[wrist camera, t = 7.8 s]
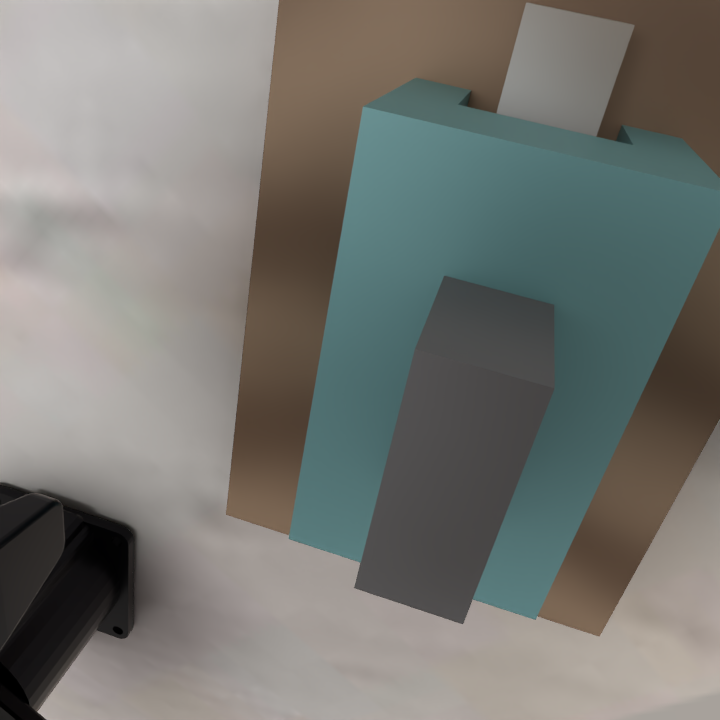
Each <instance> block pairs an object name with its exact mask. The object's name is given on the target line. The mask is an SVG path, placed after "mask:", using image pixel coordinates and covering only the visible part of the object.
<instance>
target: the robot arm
mask: <svg viewBox="0 0 720 720" xmlns="http://www.w3.org/2000/svg"><path fill="white" fill-rule="evenodd" d="M133 584H134V537H133V534H132V533H131V531H130V530H129V529H127V528H126V527H124V526H121V525H118V524H115V523H112V522H109V521H106V520H103V519H100V518H97V517H94V516H91V515H88V514H85V513H82V512H80V511H77V510H74V509H71V508H68V507H65V506H63V505H62V504H61V502H60V501H59V500H57V499H54V498H51V497H48V496H46V495H43V494H39V493H30V494H26V493H23V492H20V491H17V490H14V489H11V488H8V487H5V486H2V485H0V720H46V719H45V718H44V717H42V716H41V715H40V714H39V713H38V712H37V711H38V710H39V709H40V707H41V706H42V704H43V703H44V702H45V700H46V699H47V698H48V696H49V695H50V693H51V692H52V691H53V689H54V688H55V687H56V685H57V684H58V682H59V681H60V680H61V678H62V677H63V676H64V674H65V673H66V671H67V670H68V669H69V667H70V666H71V665H72V663H73V662H74V660H75V659H76V658H77V656H78V655H79V654H80V652H81V651H82V649H83V648H84V647H85V645H86V644H87V643H88V641H89V640H90V638H91V637H92V636H93V634H94V633H95V632H96V630H98V631H101V632H103V633H106V634H109V635H112V636H114V637H117V638H121V639H123V638H126V637H128V635H129V634H130V632H131V631H132V629H133Z"/></svg>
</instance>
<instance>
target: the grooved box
mask: <svg viewBox="0 0 720 720" xmlns="http://www.w3.org/2000/svg"><path fill="white" fill-rule="evenodd" d="M470 93H471V90H468V89H463V88H459V87H455V86H450V85H446V84H442V83H437V82H433V81H428V80H424V79H420V78H414V79H412V80H411V81H409V82H407V83H405V84H403V85H401V86H400V87H398V88H396V89H394V90H392V91H390V92H389V93H387V94H385V95H383V96H381V97H379V98H378V99H376V100H374V101H372V102H370V103H368V104H367V105H365V106H363V109H362V115H361V121H360V127H359V133H358V139H357V144H356V150H355V156H354V162H353V168H352V173H351V179H350V185H349V191H348V197H347V202H346V208H345V214H344V220H343V226H342V231H341V237H340V243H339V249H338V255H337V260H336V266H335V272H334V278H333V284H332V289H331V295H330V301H329V307H328V313H327V319H326V324H325V330H324V336H323V342H322V348H321V353H320V359H319V365H318V371H317V377H316V382H315V388H314V394H313V400H312V406H311V411H310V417H309V423H308V429H307V435H306V440H305V446H304V452H303V458H302V464H301V469H300V475H299V481H298V487H297V493H296V499H295V504H294V510H293V516H292V522H291V528H290V533H289V539H291V540H294V541H297V542H300V543H303V544H306V545H309V546H312V547H315V548H318V549H321V550H324V551H327V552H330V553H333V554H336V555H339V556H342V557H345V558H348V559H352V560H355V561H358V562H361V563H360V567H359V571H358V575H357V579H356V583H355V587H354V588H356V589H359V590H362V591H365V592H368V593H371V594H374V595H377V596H380V597H383V598H386V599H389V600H392V601H395V602H398V603H401V604H404V605H407V606H410V607H413V608H416V609H419V610H422V611H425V612H428V613H431V614H434V615H437V616H440V617H443V618H446V619H449V620H452V621H455V622H458V623H461V624H463V623H464V620H465V618H466V615H467V612H468V610H469V607H470V605H471V602H472V600H473V599H474V600H477V601H480V602H483V603H486V604H489V605H492V606H495V607H498V608H501V609H504V610H507V611H510V612H513V613H516V614H519V615H522V616H525V617H528V618H531V619H535V620H536V618H537V616H538V614H539V611H540V609H541V607H542V605H543V603H544V601H545V599H546V596H547V594H548V592H549V590H550V588H551V586H552V584H553V582H554V579H555V577H556V575H557V573H558V571H559V569H560V567H561V565H562V562H563V560H564V558H565V556H566V554H567V552H568V550H569V548H570V545H571V543H572V541H573V539H574V537H575V535H576V533H577V531H578V528H579V526H580V524H581V522H582V520H583V518H584V516H585V513H586V511H587V509H588V507H589V505H590V503H591V501H592V499H593V496H594V494H595V492H596V490H597V488H598V486H599V484H600V482H601V479H602V477H603V475H604V473H605V471H606V469H607V467H608V465H609V462H610V460H611V458H612V456H613V454H614V452H615V450H616V448H617V445H618V443H619V441H620V439H621V437H622V435H623V433H624V431H625V428H626V426H627V424H628V422H629V420H630V418H631V416H632V413H633V411H634V409H635V407H636V405H637V403H638V401H639V399H640V396H641V394H642V392H643V390H644V388H645V386H646V384H647V382H648V379H649V377H650V375H651V373H652V371H653V369H654V367H655V365H656V362H657V360H658V358H659V356H660V354H661V352H662V350H663V348H664V345H665V343H666V341H667V339H668V337H669V335H670V333H671V330H672V328H673V326H674V324H675V322H676V320H677V318H678V316H679V313H680V311H681V309H682V307H683V305H684V303H685V301H686V299H687V296H688V294H689V292H690V290H691V288H692V286H693V284H694V282H695V279H696V277H697V275H698V273H699V271H700V269H701V267H702V265H703V262H704V260H705V258H706V256H707V254H708V252H709V250H710V248H711V245H712V243H713V241H714V239H715V237H716V235H717V233H718V230H719V228H720V178H719V177H718V176H717V175H716V174H715V173H714V172H713V171H712V169H711V168H710V167H709V166H708V165H707V164H706V163H705V162H704V161H703V160H702V159H701V158H700V157H699V156H698V155H697V154H696V153H695V152H694V151H693V150H692V148H691V147H690V146H689V145H688V144H687V143H686V142H685V141H684V140H683V139H682V138H678V137H674V136H669V135H665V134H660V133H656V132H652V131H647V130H643V129H639V128H634V127H630V126H625V125H622V126H621V129H620V131H619V134H618V137H617V140H616V141H613V140H608V139H604V138H600V137H596V136H591V135H587V134H583V133H578V132H574V131H570V130H565V129H561V128H557V127H552V126H548V125H544V124H539V123H535V122H531V121H527V120H522V119H518V118H514V117H509V116H505V115H501V114H496V113H492V112H488V111H483V110H479V109H475V108H470V107H467V105H468V101H469V97H470Z"/></svg>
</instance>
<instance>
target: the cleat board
mask: <svg viewBox="0 0 720 720" xmlns="http://www.w3.org/2000/svg"><path fill="white" fill-rule="evenodd" d="M414 78H420V79H424V80H428V81H433V82H437V83H442V84H446V85H450V86H455V87H459V88H463V89H468V90H471V93H470V97H469V101H468V105H467V107H470V108H475V109H479V110H483V111H488V112H492V113H496V114H501V115H505V116H509V117H514V118H518V119H522V120H527V121H531V122H535V123H539V124H544V125H548V126H552V127H557V128H561V129H565V130H570V131H574V132H578V133H583V134H587V135H591V136H596V137H600V138H604V139H608V140H613V141H616V140H617V137H618V134H619V131H620V129H621V126H622V125H625V126H630V127H634V128H639V129H643V130H647V131H652V132H656V133H660V134H665V135H669V136H674V137H678V138H682V139H683V140H684V141H685V142H686V143H687V144H688V145H689V146H690V147H691V148H692V150H693V151H694V152H695V153H696V154H697V155H698V156H699V157H700V158H701V159H702V160H703V161H704V162H705V163H706V164H707V165H708V166H709V167H710V168H711V169H712V171H713V172H714V173H715V174H716V175H717V176H718V177H719V178H720V0H279V7H278V17H277V26H276V36H275V46H274V55H273V65H272V75H271V84H270V94H269V104H268V113H267V123H266V133H265V142H264V152H263V162H262V171H261V181H260V191H259V200H258V210H257V220H256V229H255V239H254V249H253V258H252V268H251V278H250V287H249V297H248V307H247V317H246V326H245V336H244V346H243V355H242V365H241V375H240V384H239V394H238V404H237V413H236V423H235V433H234V442H233V452H232V462H231V471H230V481H229V491H228V500H227V510H226V515H229V516H232V517H235V518H238V519H241V520H244V521H247V522H250V523H253V524H256V525H260V526H263V527H266V528H269V529H272V530H275V531H278V532H281V533H284V534H287V535H289V533H290V528H291V522H292V516H293V510H294V504H295V499H296V493H297V487H298V481H299V475H300V469H301V464H302V458H303V452H304V446H305V440H306V435H307V429H308V423H309V417H310V411H311V406H312V400H313V394H314V388H315V382H316V377H317V371H318V365H319V359H320V353H321V348H322V342H323V336H324V330H325V324H326V319H327V313H328V307H329V301H330V295H331V289H332V284H333V278H334V272H335V266H336V260H337V255H338V249H339V243H340V237H341V231H342V226H343V220H344V214H345V208H346V202H347V197H348V191H349V185H350V179H351V173H352V168H353V162H354V156H355V150H356V144H357V139H358V133H359V127H360V121H361V115H362V109H363V106H365V105H367V104H368V103H370V102H372V101H374V100H376V99H378V98H379V97H381V96H383V95H385V94H387V93H389V92H390V91H392V90H394V89H396V88H398V87H400V86H401V85H403V84H405V83H407V82H409V81H411V80H412V79H414ZM719 419H720V228H719V230H718V233H717V235H716V237H715V239H714V241H713V243H712V245H711V248H710V250H709V252H708V254H707V256H706V258H705V260H704V262H703V265H702V267H701V269H700V271H699V273H698V275H697V277H696V279H695V282H694V284H693V286H692V288H691V290H690V292H689V294H688V296H687V299H686V301H685V303H684V305H683V307H682V309H681V311H680V313H679V316H678V318H677V320H676V322H675V324H674V326H673V328H672V330H671V333H670V335H669V337H668V339H667V341H666V343H665V345H664V348H663V350H662V352H661V354H660V356H659V358H658V360H657V362H656V365H655V367H654V369H653V371H652V373H651V375H650V377H649V379H648V382H647V384H646V386H645V388H644V390H643V392H642V394H641V396H640V399H639V401H638V403H637V405H636V407H635V409H634V411H633V413H632V416H631V418H630V420H629V422H628V424H627V426H626V428H625V431H624V433H623V435H622V437H621V439H620V441H619V443H618V445H617V448H616V450H615V452H614V454H613V456H612V458H611V460H610V462H609V465H608V467H607V469H606V471H605V473H604V475H603V477H602V479H601V482H600V484H599V486H598V488H597V490H596V492H595V494H594V496H593V499H592V501H591V503H590V505H589V507H588V509H587V511H586V513H585V516H584V518H583V520H582V522H581V524H580V526H579V528H578V531H577V533H576V535H575V537H574V539H573V541H572V543H571V545H570V548H569V550H568V552H567V554H566V556H565V558H564V560H563V562H562V565H561V567H560V569H559V571H558V573H557V575H556V577H555V579H554V582H553V584H552V586H551V588H550V590H549V592H548V594H547V596H546V599H545V601H544V603H543V605H542V607H541V609H540V611H539V614H538V617H541V618H544V619H547V620H550V621H554V622H557V623H560V624H563V625H566V626H569V627H572V628H575V629H578V630H581V631H584V632H587V633H590V634H593V635H596V636H600V634H601V633H602V631H603V629H604V627H605V625H606V624H607V622H608V620H609V618H610V616H611V615H612V613H613V611H614V609H615V607H616V605H617V604H618V602H619V600H620V598H621V596H622V595H623V593H624V591H625V589H626V587H627V586H628V584H629V582H630V580H631V578H632V576H633V575H634V573H635V571H636V569H637V567H638V566H639V564H640V562H641V560H642V558H643V557H644V555H645V553H646V551H647V549H648V548H649V546H650V544H651V542H652V540H653V538H654V537H655V535H656V533H657V531H658V529H659V528H660V526H661V524H662V522H663V520H664V519H665V517H666V515H667V513H668V511H669V509H670V508H671V506H672V504H673V502H674V500H675V499H676V497H677V495H678V493H679V491H680V490H681V488H682V486H683V484H684V482H685V480H686V479H687V477H688V475H689V473H690V471H691V470H692V468H693V466H694V464H695V462H696V461H697V459H698V457H699V455H700V453H701V452H702V450H703V448H704V446H705V444H706V442H707V441H708V439H709V437H710V435H711V433H712V432H713V430H714V428H715V426H716V424H717V423H718V421H719Z"/></svg>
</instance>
